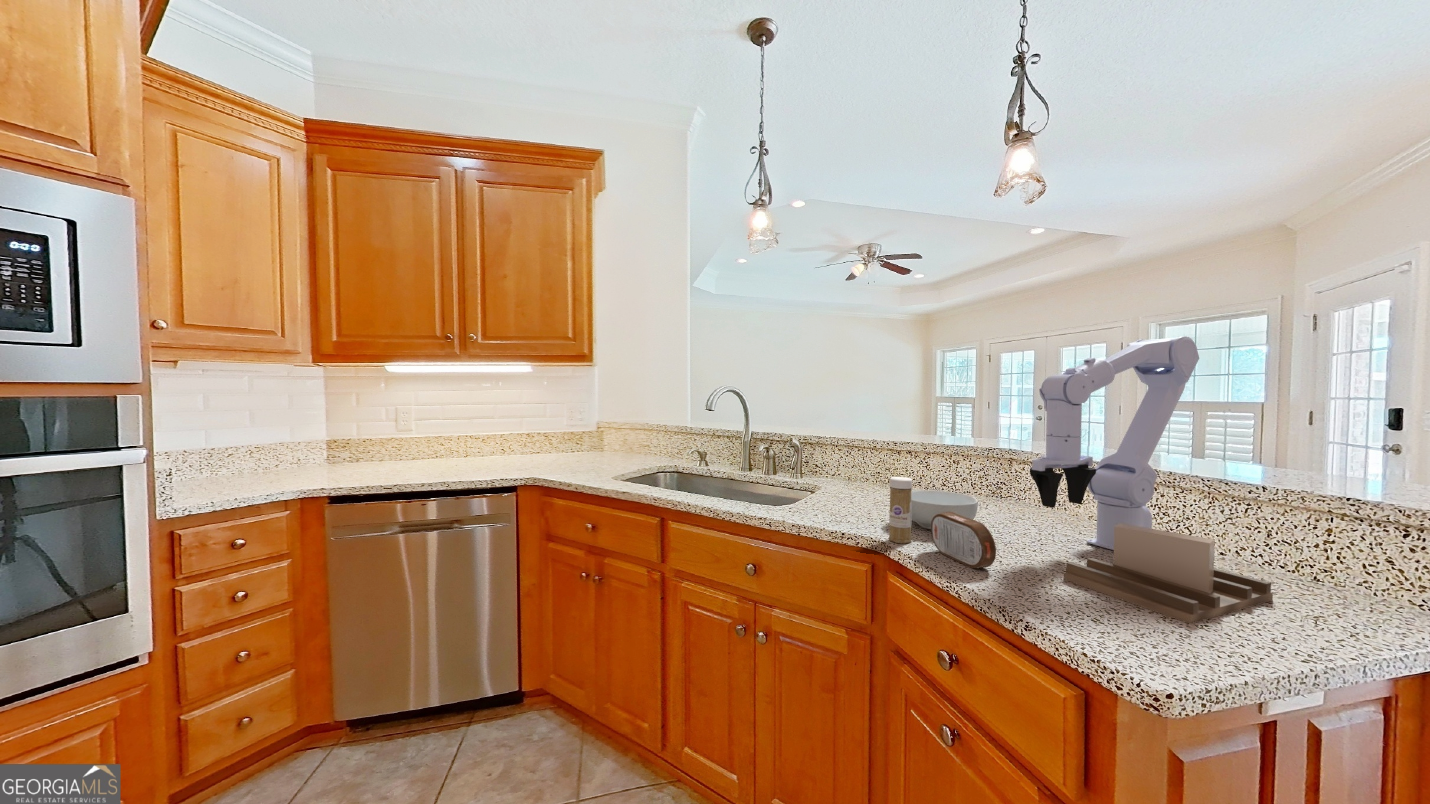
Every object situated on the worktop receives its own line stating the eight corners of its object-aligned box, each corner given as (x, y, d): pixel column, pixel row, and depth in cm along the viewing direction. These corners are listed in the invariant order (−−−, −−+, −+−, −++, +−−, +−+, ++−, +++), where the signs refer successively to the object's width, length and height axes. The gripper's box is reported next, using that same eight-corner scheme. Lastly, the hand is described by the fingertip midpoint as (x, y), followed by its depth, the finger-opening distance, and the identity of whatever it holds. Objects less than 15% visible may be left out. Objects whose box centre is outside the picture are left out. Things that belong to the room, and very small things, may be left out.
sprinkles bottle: (888, 542, 111) (888, 479, 111) (889, 536, 116) (890, 475, 115) (911, 545, 110) (912, 480, 109) (912, 539, 114) (912, 476, 113)
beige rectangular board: (1119, 569, 92) (1120, 523, 92) (1213, 590, 82) (1214, 539, 82) (1113, 572, 90) (1114, 526, 90) (1208, 595, 80) (1209, 543, 80)
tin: (997, 573, 94) (998, 526, 93) (982, 575, 93) (982, 527, 92) (941, 548, 108) (941, 507, 108) (927, 549, 107) (928, 508, 107)
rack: (1141, 563, 98) (1142, 548, 98) (1272, 600, 82) (1273, 582, 81) (1063, 579, 91) (1063, 563, 90) (1190, 623, 74) (1190, 603, 74)
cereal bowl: (994, 534, 117) (994, 502, 117) (924, 538, 115) (924, 506, 114) (948, 515, 134) (949, 487, 134) (886, 518, 131) (886, 490, 131)
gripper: (1068, 432, 110) (1067, 497, 111) (1018, 435, 105) (1017, 503, 105) (1104, 435, 104) (1102, 504, 104) (1052, 439, 98) (1051, 511, 99)
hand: (1062, 504), depth 104 cm, fingers open, 7 cm apart
